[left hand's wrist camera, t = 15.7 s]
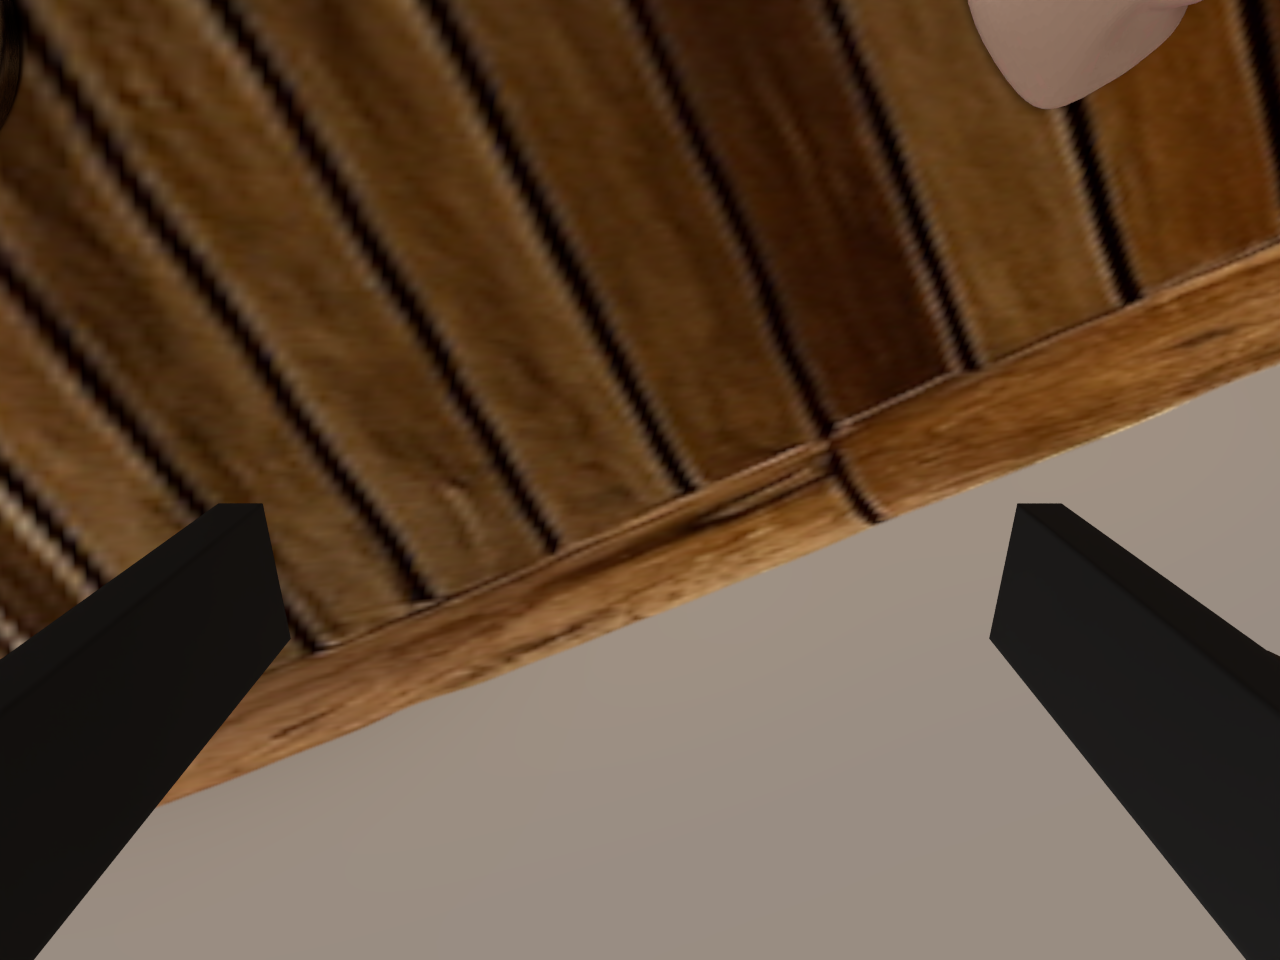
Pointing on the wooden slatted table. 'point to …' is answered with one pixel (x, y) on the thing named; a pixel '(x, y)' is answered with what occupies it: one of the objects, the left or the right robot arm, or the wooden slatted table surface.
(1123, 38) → the anatomical model
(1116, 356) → the wooden slatted table surface
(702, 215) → the wooden slatted table surface
